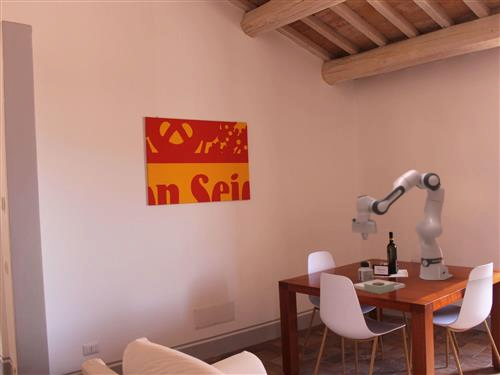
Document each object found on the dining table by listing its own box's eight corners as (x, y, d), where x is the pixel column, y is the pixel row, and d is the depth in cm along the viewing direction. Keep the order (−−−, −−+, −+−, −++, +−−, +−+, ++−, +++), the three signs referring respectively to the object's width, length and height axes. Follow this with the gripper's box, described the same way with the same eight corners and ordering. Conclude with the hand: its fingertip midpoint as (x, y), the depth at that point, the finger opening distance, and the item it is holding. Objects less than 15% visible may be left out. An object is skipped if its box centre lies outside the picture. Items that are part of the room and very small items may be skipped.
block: (378, 286, 288) (378, 281, 288) (384, 287, 284) (384, 283, 284) (372, 288, 285) (372, 283, 285) (378, 289, 281) (378, 284, 281)
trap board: (377, 282, 310) (376, 275, 310) (406, 287, 290) (406, 280, 290) (351, 288, 297) (350, 281, 297) (380, 294, 277) (379, 286, 277)
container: (363, 281, 313) (362, 262, 314) (358, 279, 321) (357, 261, 321) (374, 280, 315) (372, 261, 315) (369, 278, 323) (367, 260, 323)
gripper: (378, 219, 303) (380, 240, 303) (356, 218, 321) (357, 238, 320) (372, 220, 300) (373, 241, 300) (349, 219, 317) (351, 239, 317)
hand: (365, 239), depth 310 cm, fingers closed
